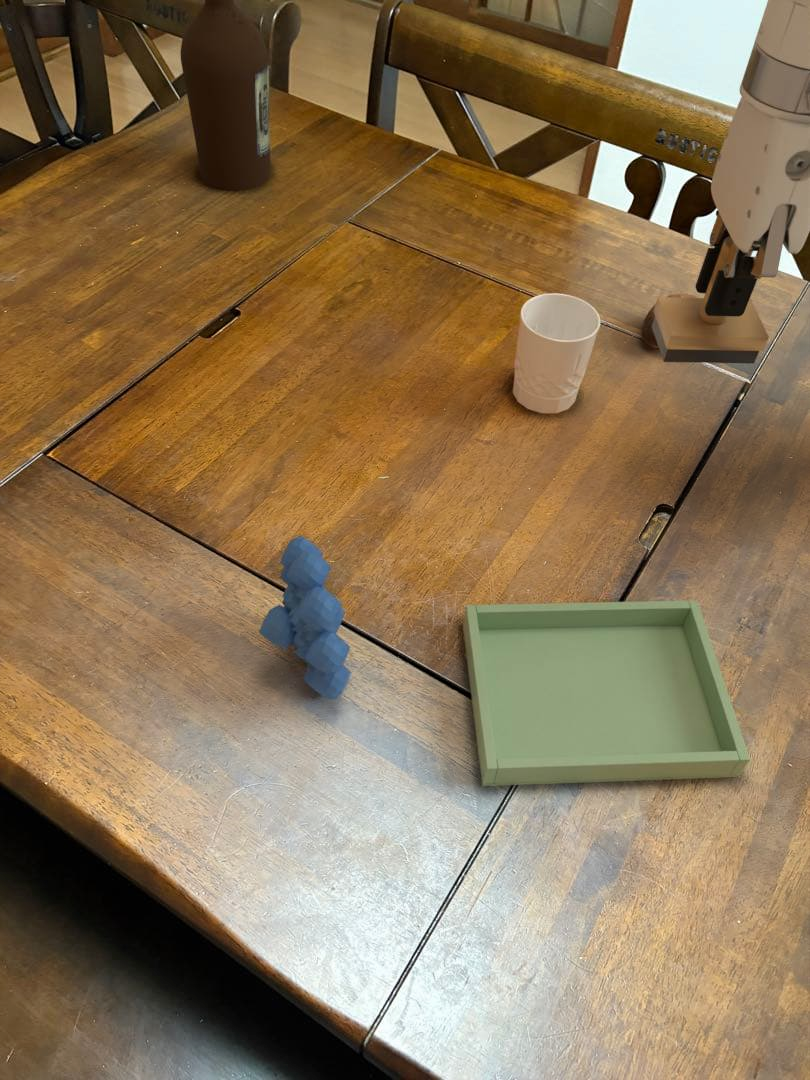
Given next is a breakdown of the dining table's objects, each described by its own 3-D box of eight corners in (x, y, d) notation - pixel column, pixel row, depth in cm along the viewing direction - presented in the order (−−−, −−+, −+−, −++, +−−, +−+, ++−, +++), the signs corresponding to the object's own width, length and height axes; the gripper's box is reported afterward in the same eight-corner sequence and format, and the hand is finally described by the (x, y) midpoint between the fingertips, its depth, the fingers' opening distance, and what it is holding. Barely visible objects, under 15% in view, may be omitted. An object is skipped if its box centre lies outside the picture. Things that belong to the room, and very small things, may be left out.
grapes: (249, 616, 77) (235, 522, 68) (326, 598, 79) (324, 504, 69) (281, 735, 70) (271, 648, 61) (365, 713, 72) (368, 625, 62)
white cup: (530, 361, 101) (545, 283, 93) (593, 390, 98) (614, 313, 91) (493, 398, 97) (505, 320, 89) (558, 430, 94) (576, 352, 86)
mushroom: (738, 332, 101) (717, 284, 98) (683, 376, 100) (661, 329, 97) (693, 323, 108) (672, 278, 105) (641, 364, 107) (619, 320, 104)
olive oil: (191, 194, 120) (162, -17, 101) (201, 154, 127) (175, -51, 108) (272, 196, 121) (259, -13, 102) (278, 157, 127) (266, -46, 108)
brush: (740, 327, 82) (780, 226, 75) (757, 365, 79) (801, 264, 71) (648, 325, 82) (680, 223, 74) (661, 363, 78) (696, 261, 71)
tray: (687, 621, 79) (697, 599, 77) (736, 778, 70) (750, 759, 67) (462, 626, 77) (465, 604, 75) (482, 787, 68) (486, 768, 66)
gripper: (898, 135, 58) (790, 364, 72) (816, 32, 68) (735, 250, 82) (783, 131, 58) (697, 363, 72) (718, 28, 68) (654, 248, 82)
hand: (718, 301), depth 77 cm, fingers closed on brush, 2 cm apart
